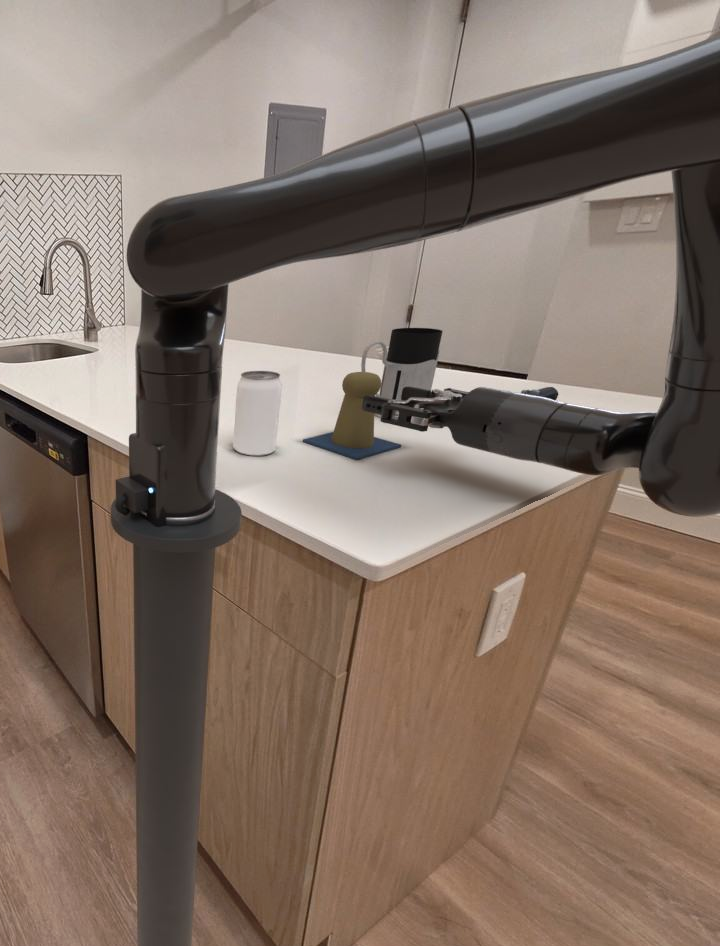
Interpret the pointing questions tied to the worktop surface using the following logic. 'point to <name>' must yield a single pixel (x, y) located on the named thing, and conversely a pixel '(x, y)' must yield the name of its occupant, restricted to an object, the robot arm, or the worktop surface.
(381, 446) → the mat
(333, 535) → the worktop surface
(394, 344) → the glass holder
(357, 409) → the cork
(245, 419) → the can
